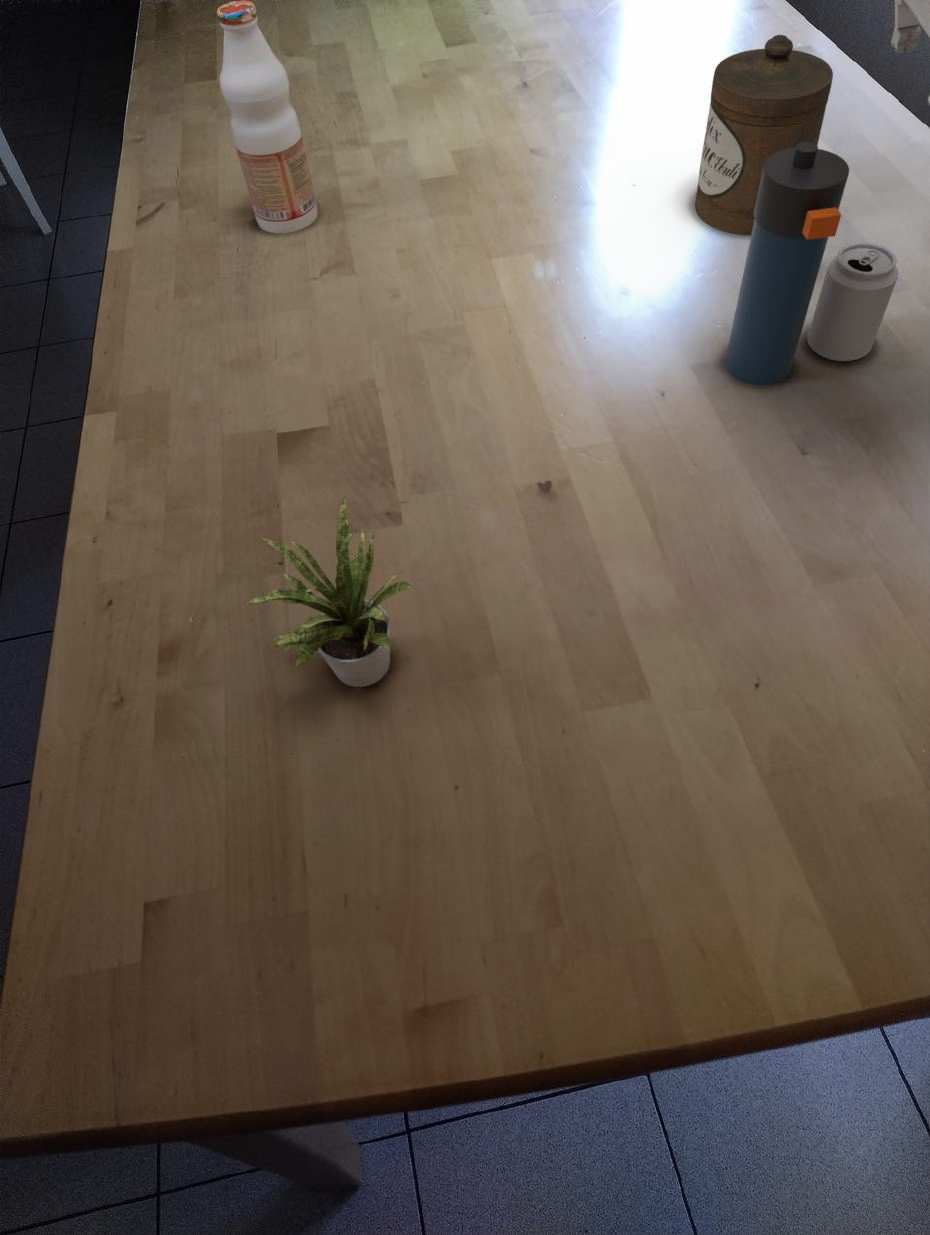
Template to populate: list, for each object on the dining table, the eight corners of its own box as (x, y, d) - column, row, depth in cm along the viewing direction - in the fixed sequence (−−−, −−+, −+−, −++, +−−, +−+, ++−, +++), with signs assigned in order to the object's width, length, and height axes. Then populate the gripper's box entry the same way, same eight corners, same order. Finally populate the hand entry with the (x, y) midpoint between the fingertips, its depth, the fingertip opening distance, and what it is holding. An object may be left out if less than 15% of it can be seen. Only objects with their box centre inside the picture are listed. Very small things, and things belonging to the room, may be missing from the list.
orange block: (835, 236, 84) (841, 214, 82) (806, 240, 84) (812, 218, 82) (829, 228, 84) (836, 206, 83) (801, 232, 84) (807, 210, 83)
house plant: (289, 604, 88) (245, 491, 75) (425, 590, 88) (404, 475, 74) (282, 728, 80) (230, 625, 66) (431, 713, 79) (409, 607, 66)
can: (792, 347, 106) (817, 257, 96) (830, 320, 108) (858, 229, 98) (844, 375, 102) (876, 284, 92) (883, 347, 104) (917, 255, 95)
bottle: (801, 384, 102) (867, 165, 81) (734, 394, 102) (783, 177, 81) (778, 343, 106) (835, 126, 86) (714, 352, 106) (755, 136, 86)
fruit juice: (265, 244, 128) (205, 29, 105) (252, 213, 133) (192, 2, 111) (326, 227, 129) (280, 12, 107) (310, 198, 135) (263, -13, 112)
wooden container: (688, 186, 129) (711, 17, 111) (790, 181, 128) (831, 9, 110) (700, 242, 120) (727, 68, 102) (810, 237, 119) (857, 60, 101)
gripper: (1086, -65, 57) (1005, 139, 69) (972, -182, 68) (919, 13, 79) (987, -46, 58) (923, 153, 69) (889, -165, 68) (848, 26, 80)
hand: (920, 77), depth 75 cm, fingers open, 8 cm apart
